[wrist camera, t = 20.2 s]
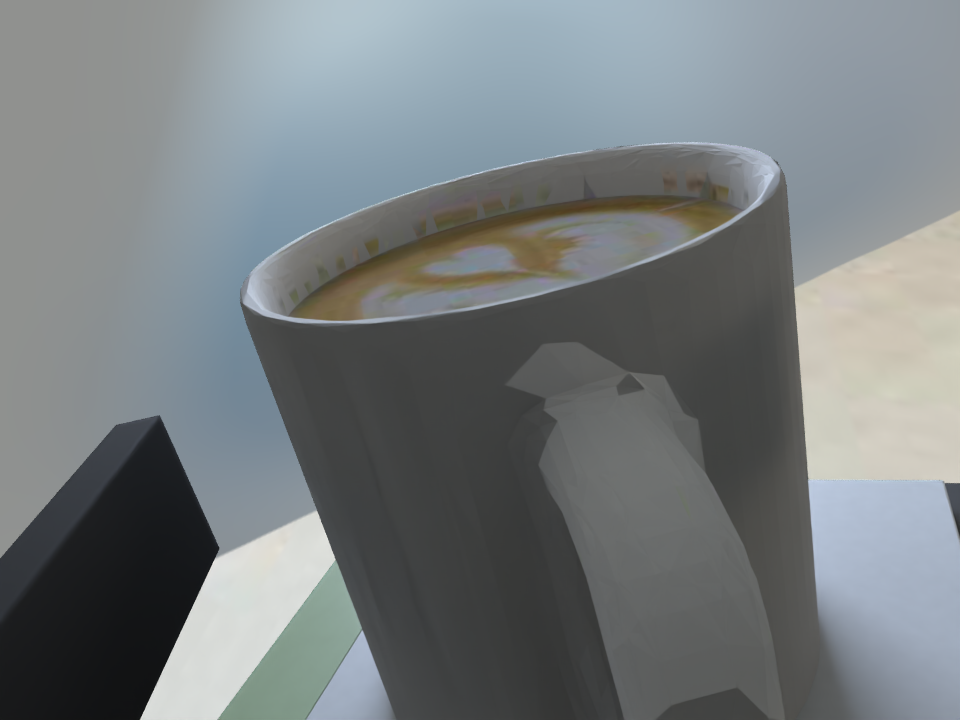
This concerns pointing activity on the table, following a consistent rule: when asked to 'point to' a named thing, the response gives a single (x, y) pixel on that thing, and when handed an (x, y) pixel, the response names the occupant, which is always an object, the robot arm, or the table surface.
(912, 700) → the scale
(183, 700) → the table surface
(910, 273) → the table surface
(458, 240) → the coffee mug
